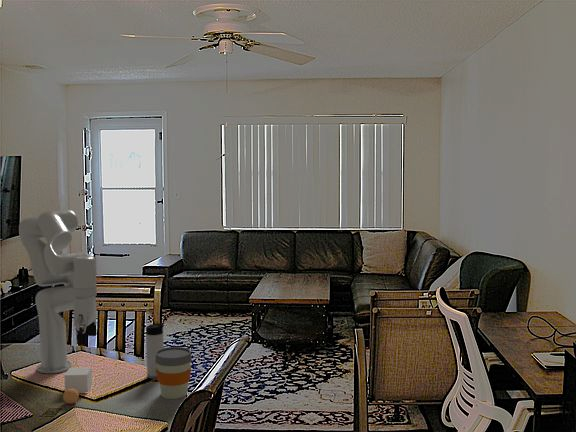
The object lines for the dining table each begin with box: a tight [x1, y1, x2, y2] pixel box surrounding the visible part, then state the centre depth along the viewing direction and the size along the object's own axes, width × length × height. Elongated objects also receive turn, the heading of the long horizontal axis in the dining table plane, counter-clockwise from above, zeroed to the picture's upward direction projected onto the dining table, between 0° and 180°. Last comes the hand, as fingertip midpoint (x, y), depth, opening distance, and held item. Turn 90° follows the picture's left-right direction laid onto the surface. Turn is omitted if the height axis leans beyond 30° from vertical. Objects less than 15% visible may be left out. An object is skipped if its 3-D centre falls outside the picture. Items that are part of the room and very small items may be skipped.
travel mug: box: [145, 323, 165, 380], centre depth 249 cm, size 6×7×20 cm
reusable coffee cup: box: [155, 346, 193, 400], centre depth 232 cm, size 13×13×15 cm
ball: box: [62, 388, 80, 405], centre depth 225 cm, size 5×5×5 cm
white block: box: [63, 366, 93, 393], centre depth 237 cm, size 8×8×7 cm
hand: (87, 339), depth 232 cm, fingers open, 9 cm apart
